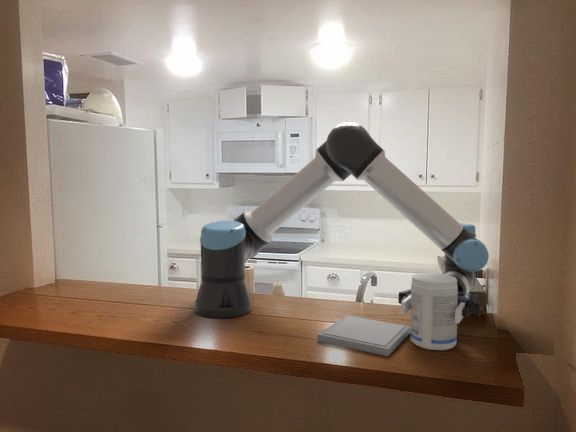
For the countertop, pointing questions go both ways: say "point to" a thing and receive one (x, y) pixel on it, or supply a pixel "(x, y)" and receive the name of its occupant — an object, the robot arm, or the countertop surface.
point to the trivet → (365, 335)
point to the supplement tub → (434, 311)
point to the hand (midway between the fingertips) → (429, 312)
